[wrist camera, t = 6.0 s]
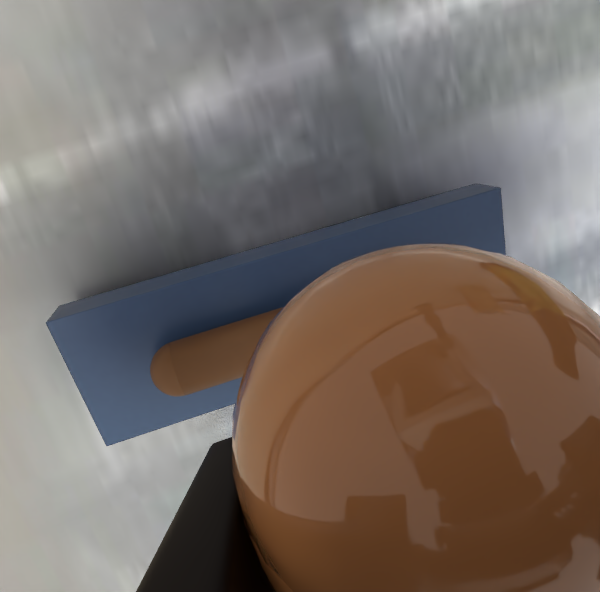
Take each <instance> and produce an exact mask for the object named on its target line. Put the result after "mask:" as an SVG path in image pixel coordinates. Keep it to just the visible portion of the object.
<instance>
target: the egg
mask: <svg viewBox="0 0 600 592" xmlns="http://www.w3.org/2000/svg"><path fill="white" fill-rule="evenodd" d="M232 473H233V477H234V481H235V485H236V489H237V493H238V497H239V500H240V504H241V508H242V512H243V516H244V523H245V526H246V528H247V531H248V534H249V536H250V539H251V541H252V544H253V546H254V549H255V551H256V554H257V556H258V559H259V562H260V564H261V567H262V569H263V572H264V574H265V577H266V579H267V582H268V585H269V587H270V590H271V592H600V316H599V315H598V314H597V313H595V312H594V311H593V310H592V309H591V308H590V307H588V306H587V305H586V304H585V303H584V302H583V301H581V300H580V299H579V298H578V297H577V296H576V295H574V294H573V293H572V292H571V291H570V290H569V289H567V288H566V287H565V286H564V285H563V284H561V283H560V282H559V281H557V280H555V279H553V278H551V277H549V276H547V275H545V274H543V273H542V272H540V271H538V270H536V269H534V268H532V267H530V266H528V265H526V264H524V263H522V262H520V261H518V260H516V259H514V258H512V257H509V256H506V255H503V254H500V253H496V252H492V251H488V250H483V249H478V248H473V247H469V246H464V245H458V244H452V243H412V244H404V245H397V246H392V247H387V248H382V249H378V250H374V251H371V252H367V253H364V254H361V255H358V256H356V257H353V258H351V259H349V260H346V261H344V262H342V263H340V264H338V265H337V266H335V267H333V268H331V269H330V270H328V271H327V272H325V273H324V274H322V275H321V276H319V277H317V278H316V279H314V280H313V281H311V282H310V283H309V284H307V285H306V286H304V287H303V288H302V289H300V290H299V291H298V292H297V293H296V294H295V295H294V296H293V297H292V298H291V299H290V300H289V302H288V303H287V304H286V305H285V306H284V307H283V308H282V309H281V310H280V312H279V313H278V314H277V315H276V316H275V317H274V318H273V319H272V321H271V322H270V323H269V325H268V326H267V328H266V329H265V331H264V332H263V334H262V336H261V337H260V339H259V341H258V343H257V345H256V347H255V349H254V351H253V353H252V354H251V356H250V358H249V360H248V362H247V364H246V367H245V370H244V374H243V377H242V380H241V383H240V387H239V391H238V395H237V399H236V403H235V407H234V411H233V430H232Z"/></svg>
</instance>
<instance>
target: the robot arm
mask: <svg viewBox="0 0 600 592" xmlns="http://www.w3.org/2000/svg"><path fill="white" fill-rule="evenodd" d="M136 592H271V590H270V587H269V585H268V582H267V579H266V577H265V574H264V572H263V569H262V567H261V564H260V562H259V559H258V556H257V554H256V551H255V549H254V546H253V544H252V541H251V539H250V536H249V534H248V531H247V528H246V526H245V523H244V516H243V512H242V508H241V504H240V500H239V497H238V493H237V489H236V485H235V481H234V477H233V473H232V437H231V438H228V439H225V440H222V441H219V442H216V443H214V444H213V445H212V446H211V447H210V449H209V451H208V453H207V455H206V457H205V459H204V461H203V463H202V465H201V467H200V469H199V470H198V472H197V474H196V476H195V478H194V480H193V482H192V484H191V486H190V488H189V490H188V492H187V494H186V496H185V498H184V500H183V502H182V504H181V505H180V507H179V509H178V511H177V513H176V515H175V517H174V519H173V521H172V523H171V525H170V527H169V529H168V531H167V533H166V535H165V537H164V538H163V540H162V542H161V544H160V546H159V548H158V550H157V552H156V554H155V556H154V558H153V560H152V562H151V564H150V566H149V568H148V570H147V572H146V573H145V575H144V577H143V579H142V581H141V583H140V585H139V587H138V589H137V591H136Z"/></svg>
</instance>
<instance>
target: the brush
mask: <svg viewBox="0 0 600 592" xmlns="http://www.w3.org/2000/svg"><path fill="white" fill-rule="evenodd" d="M412 243H452V244H458V245H464V246H469V247H473V248H478V249H483V250H488V251H492V252H496V253H500V254H503V255H506V251H505V238H504V225H503V212H502V199H501V188H499V187H493V186H487V185H481V184H472V185H469V186H465V187H462V188H459V189H455V190H452V191H448V192H445V193H441V194H438V195H435V196H431V197H428V198H424V199H421V200H418V201H414V202H411V203H407V204H404V205H401V206H397V207H394V208H390V209H387V210H384V211H380V212H377V213H373V214H370V215H367V216H363V217H360V218H356V219H353V220H350V221H346V222H343V223H339V224H336V225H333V226H329V227H326V228H322V229H319V230H316V231H312V232H309V233H305V234H302V235H299V236H295V237H292V238H288V239H285V240H281V241H278V242H275V243H271V244H268V245H264V246H261V247H258V248H254V249H251V250H247V251H244V252H241V253H237V254H234V255H230V256H227V257H224V258H220V259H217V260H213V261H210V262H207V263H203V264H200V265H196V266H193V267H190V268H186V269H183V270H179V271H176V272H173V273H169V274H166V275H162V276H159V277H156V278H152V279H149V280H145V281H142V282H139V283H135V284H132V285H128V286H125V287H121V288H118V289H115V290H111V291H108V292H104V293H101V294H98V295H94V296H91V297H87V298H84V299H81V300H77V301H74V302H70V303H67V304H64V305H60V306H59V307H58V308H57V309H56V310H55V312H54V313H53V314H52V316H51V317H50V318H49V319H48V321H47V322H46V324H47V326H48V328H49V330H50V333H51V335H52V337H53V339H54V341H55V343H56V345H57V347H58V349H59V351H60V353H61V355H62V357H63V359H64V361H65V363H66V365H67V367H68V369H69V371H70V373H71V375H72V377H73V379H74V381H75V383H76V385H77V387H78V389H79V391H80V393H81V395H82V397H83V399H84V401H85V403H86V405H87V407H88V410H89V412H90V414H91V416H92V418H93V420H94V422H95V424H96V426H97V428H98V430H99V432H100V434H101V436H102V438H103V440H104V442H105V444H106V446H109V445H112V444H115V443H118V442H121V441H124V440H127V439H130V438H133V437H136V436H139V435H142V434H145V433H148V432H151V431H154V430H157V429H160V428H163V427H166V426H169V425H172V424H175V423H178V422H181V421H184V420H187V419H190V418H193V417H196V416H199V415H202V414H205V413H208V412H211V411H214V410H217V409H220V408H223V407H226V406H229V405H232V404H235V403H236V399H237V395H238V391H239V387H240V383H241V380H242V377H243V374H244V370H245V367H246V364H247V362H248V360H249V358H250V356H251V354H252V353H253V351H254V349H255V347H256V345H257V343H258V341H259V339H260V337H261V336H262V334H263V332H264V331H265V329H266V328H267V326H268V325H269V323H270V322H271V321H272V319H273V318H274V317H275V316H276V315H277V314H278V313H279V312H280V310H281V309H282V308H283V307H284V306H285V305H286V304H287V303H288V302H289V300H290V299H291V298H292V297H293V296H294V295H295V294H296V293H297V292H298V291H299V290H300V289H302V288H303V287H304V286H306V285H307V284H309V283H310V282H311V281H313V280H314V279H316V278H317V277H319V276H321V275H322V274H324V273H325V272H327V271H328V270H330V269H331V268H333V267H335V266H337V265H338V264H340V263H342V262H344V261H346V260H349V259H351V258H353V257H356V256H358V255H361V254H364V253H367V252H371V251H374V250H378V249H382V248H387V247H392V246H397V245H404V244H412Z"/></svg>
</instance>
